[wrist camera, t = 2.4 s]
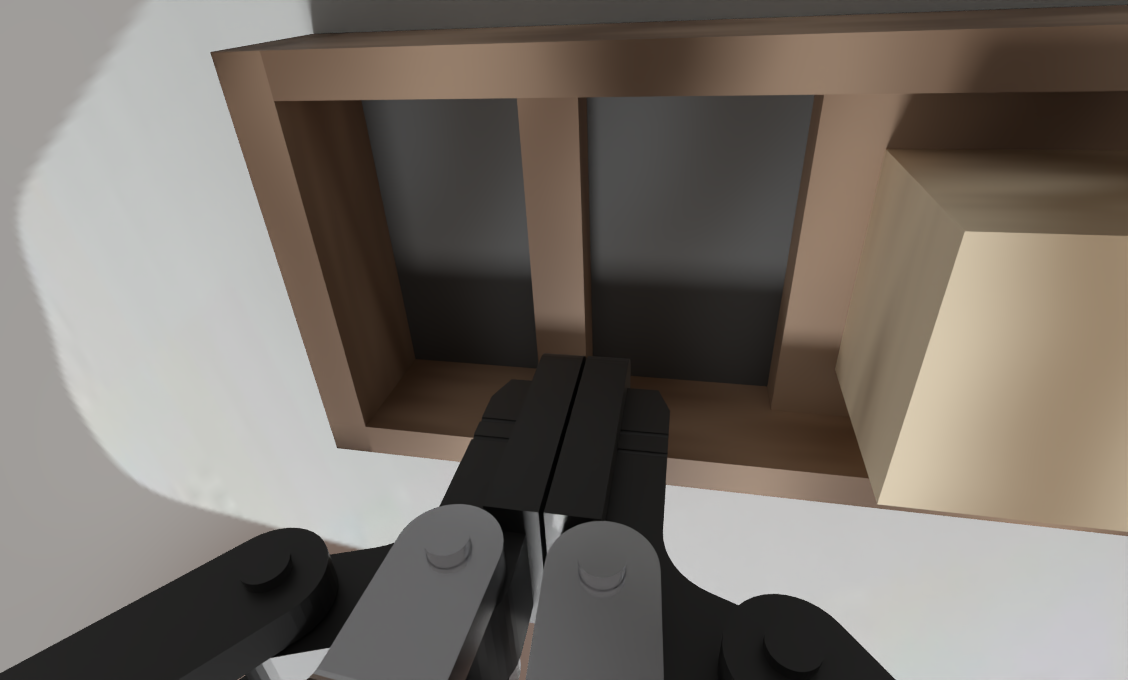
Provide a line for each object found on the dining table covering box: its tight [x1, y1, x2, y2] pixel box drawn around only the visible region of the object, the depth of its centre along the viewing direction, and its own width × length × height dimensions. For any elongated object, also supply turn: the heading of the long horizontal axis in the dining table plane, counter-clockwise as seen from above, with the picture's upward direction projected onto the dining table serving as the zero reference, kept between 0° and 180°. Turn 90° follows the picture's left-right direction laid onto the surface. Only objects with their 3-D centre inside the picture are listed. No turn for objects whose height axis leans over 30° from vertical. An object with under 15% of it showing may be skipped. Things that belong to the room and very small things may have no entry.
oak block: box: [835, 149, 1128, 532], centre depth 12 cm, size 6×6×5 cm
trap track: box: [210, 5, 1128, 536], centre depth 14 cm, size 31×11×5 cm, turn 93°
